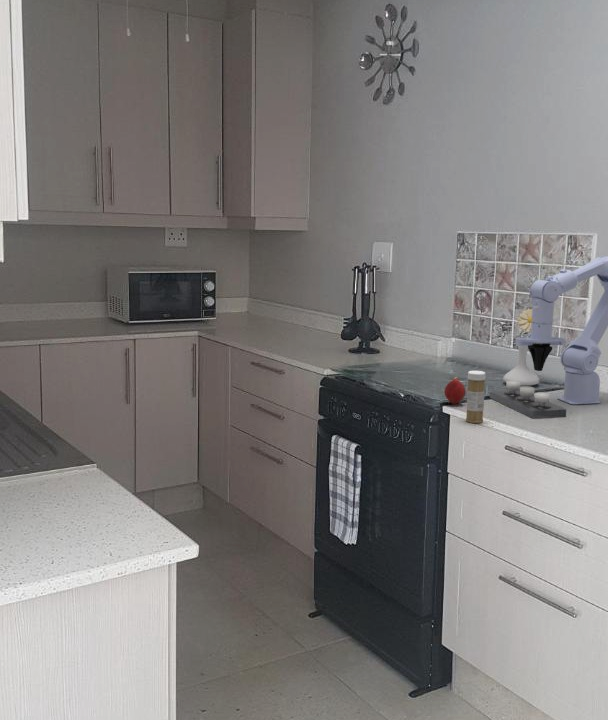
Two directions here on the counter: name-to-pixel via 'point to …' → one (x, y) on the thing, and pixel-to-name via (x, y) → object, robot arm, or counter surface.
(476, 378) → the sprinkles bottle
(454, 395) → the onion
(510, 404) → the panel
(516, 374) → the flower in vase
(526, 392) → the knob mid
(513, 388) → the knob
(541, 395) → the knob
